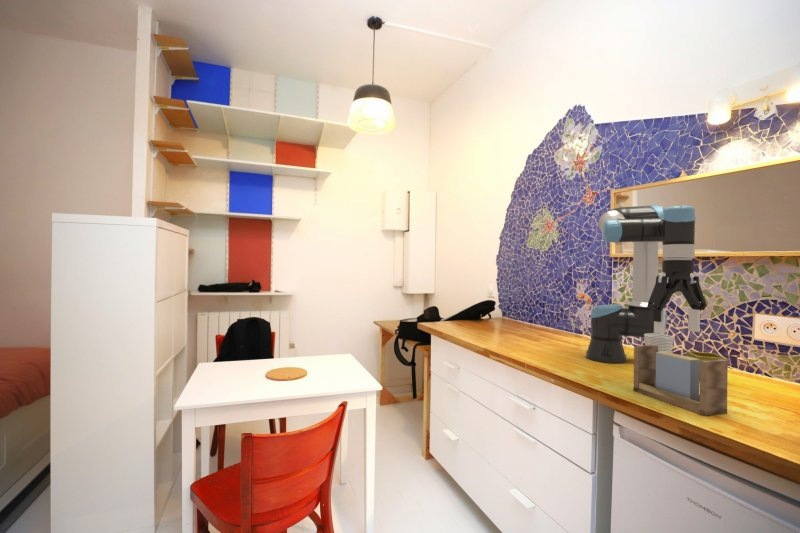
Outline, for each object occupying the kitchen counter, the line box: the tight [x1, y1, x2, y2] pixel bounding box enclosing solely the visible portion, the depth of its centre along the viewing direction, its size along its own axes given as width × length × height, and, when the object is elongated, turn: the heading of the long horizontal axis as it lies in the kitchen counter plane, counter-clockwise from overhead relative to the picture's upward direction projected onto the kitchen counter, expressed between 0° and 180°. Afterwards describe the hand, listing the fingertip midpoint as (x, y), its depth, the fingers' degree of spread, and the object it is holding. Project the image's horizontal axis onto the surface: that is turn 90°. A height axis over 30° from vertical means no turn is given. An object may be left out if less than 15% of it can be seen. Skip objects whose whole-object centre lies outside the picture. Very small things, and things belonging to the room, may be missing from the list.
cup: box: [643, 333, 674, 353], centre depth 129 cm, size 8×8×16 cm
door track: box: [633, 344, 729, 417], centre depth 108 cm, size 8×21×14 cm, turn 17°
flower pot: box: [686, 350, 728, 381], centre depth 130 cm, size 9×9×9 cm
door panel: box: [656, 351, 700, 402], centre depth 108 cm, size 4×10×12 cm, turn 17°
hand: (676, 332), depth 108 cm, fingers open, 13 cm apart
